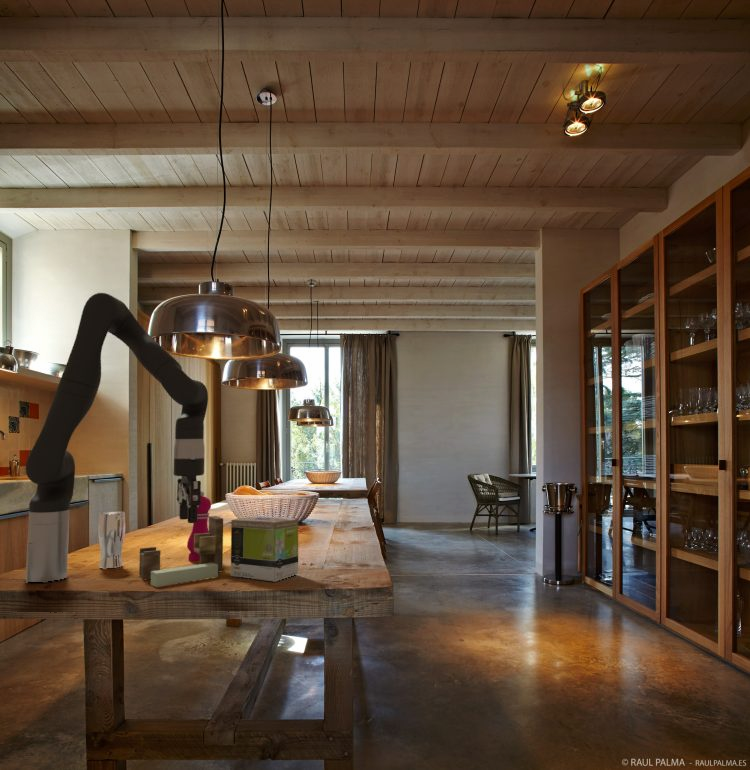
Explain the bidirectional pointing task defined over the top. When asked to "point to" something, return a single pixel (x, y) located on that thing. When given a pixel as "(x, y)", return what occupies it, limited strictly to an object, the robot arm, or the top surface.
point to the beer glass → (111, 538)
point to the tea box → (264, 548)
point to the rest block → (149, 562)
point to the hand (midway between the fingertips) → (188, 521)
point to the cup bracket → (211, 543)
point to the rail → (183, 574)
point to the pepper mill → (199, 526)
